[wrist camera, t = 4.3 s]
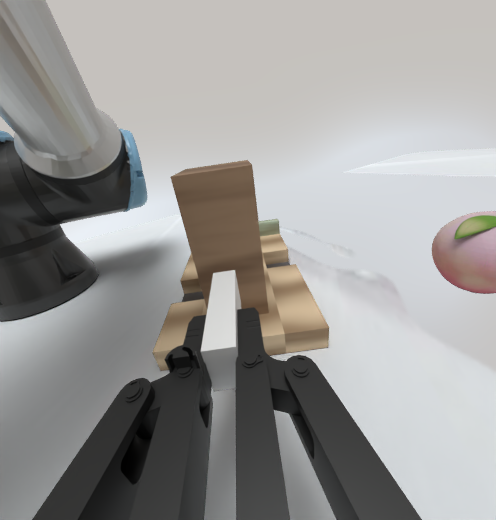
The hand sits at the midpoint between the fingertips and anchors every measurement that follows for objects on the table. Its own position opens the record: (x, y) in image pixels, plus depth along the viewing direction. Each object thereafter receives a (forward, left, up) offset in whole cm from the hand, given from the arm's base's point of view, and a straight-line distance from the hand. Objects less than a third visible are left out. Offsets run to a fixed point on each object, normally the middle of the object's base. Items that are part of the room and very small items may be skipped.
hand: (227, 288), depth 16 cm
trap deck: (-12, +7, -9) cm, 16 cm away
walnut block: (-6, +4, -7) cm, 10 cm away
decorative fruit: (+7, +26, -9) cm, 28 cm away
